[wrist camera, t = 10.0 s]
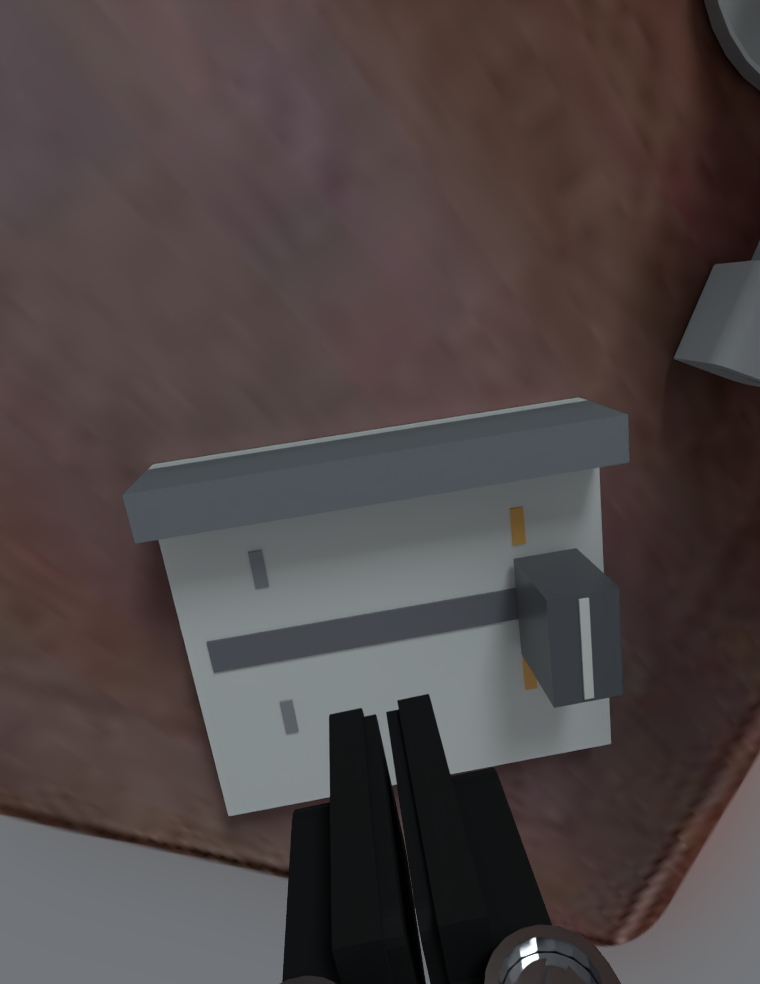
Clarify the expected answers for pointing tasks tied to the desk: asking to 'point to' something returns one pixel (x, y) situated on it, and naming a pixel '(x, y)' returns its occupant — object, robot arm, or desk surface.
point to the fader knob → (569, 626)
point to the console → (376, 586)
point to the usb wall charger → (727, 323)
